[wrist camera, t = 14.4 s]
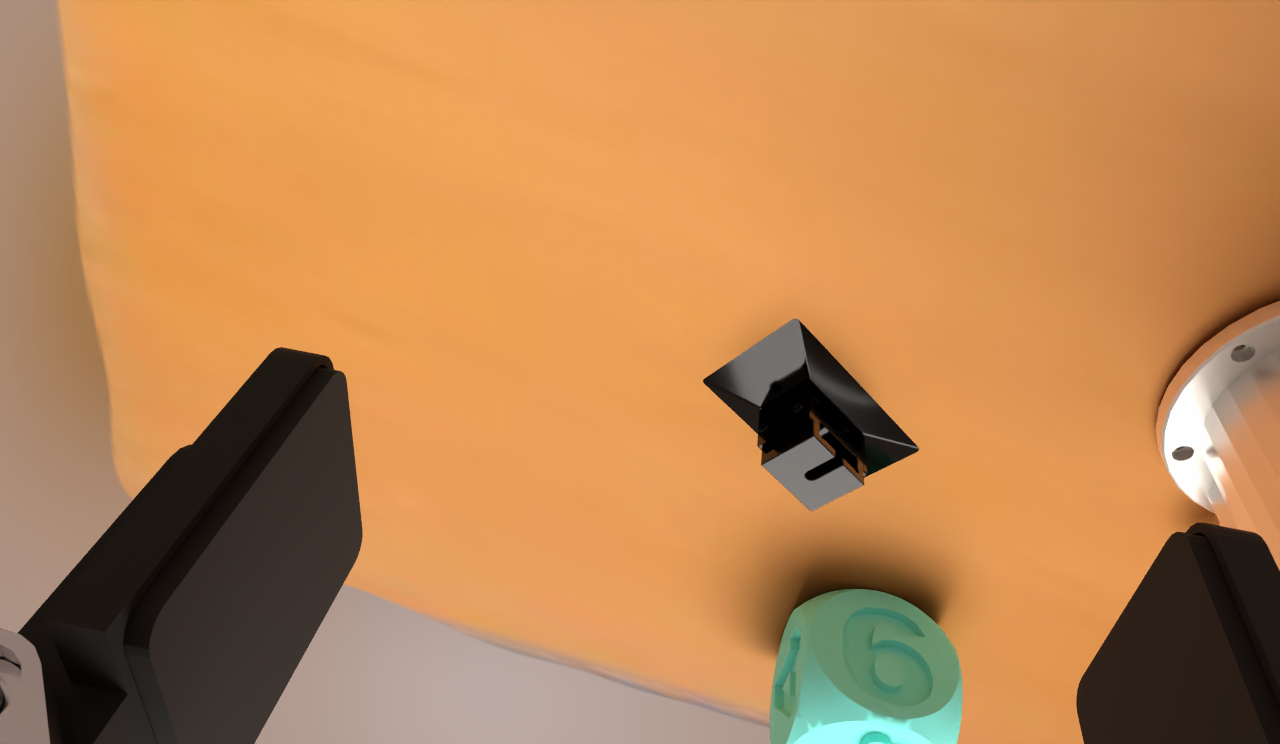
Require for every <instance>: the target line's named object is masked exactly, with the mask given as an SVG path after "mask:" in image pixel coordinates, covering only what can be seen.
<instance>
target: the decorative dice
mask: <svg viewBox="0 0 1280 744" xmlns="http://www.w3.org/2000/svg"><path fill="white" fill-rule="evenodd" d="M961 714H962V675H961V668H960V663H959V659H958V655H957V652H956V650H955V648H954V646H953V644H952V643H951V641H950V640H949V639H948V637H947V636H946V634H945V633H944V632H943V630H942V629H941V628H940V627H939V626H938V625H937V624H936V623H935V622H934V621H933V620H932V619H931V618H930V617H929V616H928V615H926V614H925V613H924V612H922V611H921V610H920V609H918V608H917V607H915V606H914V605H912V604H910V603H909V602H907V601H905V600H903V599H901V598H899V597H896V596H894V595H891V594H888V593H885V592H881V591H876V590H869V589H843V590H836V591H831V592H827V593H824V594H821V595H819V596H816V597H814V598H812V599H810V600H808V601H806V602H805V603H803V604H802V605H800V606H799V607H797V608H796V609H795V610H794V611H793V612H792V614H791V616H790V618H789V620H788V622H787V625H786V627H785V630H784V633H783V637H782V640H781V644H780V648H779V652H778V657H777V662H776V667H775V673H774V679H773V687H772V695H771V707H770V738H771V744H957V740H958V735H959V730H960V723H961Z"/></svg>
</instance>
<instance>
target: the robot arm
mask: <svg viewBox="0 0 1280 744" xmlns="http://www.w3.org/2000/svg"><path fill="white" fill-rule="evenodd" d="M1156 437H1157V444H1158V450H1159V452H1160V454H1161V457H1162V460H1163V462H1164V465H1165V467H1166V470H1167V471H1168V473H1169V475H1170V476H1171V478H1172V479H1173V481H1174V483H1175V484H1176V486H1177V487H1178V488H1179V489H1180V490H1181V491H1182V492H1183V493H1184V494H1185V495H1187V496H1188V497H1189V498H1190V499H1191V500H1192V501H1193V502H1195V503H1197V504H1198V505H1200V506H1202V507H1204V508H1205V509H1207V510H1209V511H1211V512H1212V513H1215V514H1216V516H1217V518H1218V520H1219V522H1220V524H1219V526H1218V525H1213V524H1208V523H1196V524H1194V525H1193V526H1191V527H1190V528H1189V529H1188V530H1187V532H1186V533H1183V532H1176V533H1174V534H1172V535H1171V536H1170V538H1169V539H1168V540H1167V542H1166V543H1165V545H1164V546H1163V548H1162V550H1161V551H1160V553H1159V554H1158V556H1157V558H1156V559H1155V561H1154V563H1153V564H1152V566H1151V567H1150V569H1149V571H1148V572H1147V574H1146V575H1145V577H1144V579H1143V580H1142V582H1141V583H1140V585H1139V587H1138V588H1137V590H1136V591H1135V593H1134V595H1133V596H1132V598H1131V599H1130V601H1129V603H1128V604H1127V606H1126V608H1125V609H1124V611H1123V612H1122V614H1121V616H1120V617H1119V619H1118V620H1117V622H1116V624H1115V625H1114V627H1113V628H1112V630H1111V632H1110V633H1109V635H1108V636H1107V638H1106V640H1105V641H1104V643H1103V644H1102V646H1101V648H1100V649H1099V651H1098V653H1097V654H1096V656H1095V657H1094V659H1093V661H1092V662H1091V664H1090V665H1089V667H1088V669H1087V670H1086V672H1085V673H1084V675H1083V677H1082V679H1081V681H1080V683H1079V687H1078V691H1077V713H1078V718H1079V722H1080V727H1081V731H1082V736H1083V740H1084V744H1280V301H1278V302H1275V303H1273V304H1270V305H1268V306H1265V307H1262V308H1260V309H1258V310H1256V311H1254V312H1252V313H1251V314H1249V315H1247V316H1245V317H1243V318H1241V319H1240V320H1238V321H1236V322H1234V323H1232V324H1230V325H1229V326H1227V327H1226V328H1225V329H1223V330H1222V331H1221V332H1219V333H1218V334H1217V335H1215V336H1214V337H1213V338H1211V339H1210V340H1209V341H1207V342H1206V343H1204V344H1203V345H1202V346H1201V347H1200V348H1199V349H1198V350H1197V351H1196V352H1195V353H1194V354H1193V355H1192V356H1191V357H1190V358H1189V359H1188V360H1187V361H1186V362H1185V363H1184V364H1183V365H1182V367H1181V368H1180V370H1179V371H1178V373H1177V374H1176V376H1175V377H1174V378H1173V380H1172V381H1171V383H1170V384H1169V386H1168V387H1167V390H1166V392H1165V395H1164V397H1163V399H1162V402H1161V404H1160V407H1159V410H1158V417H1157V423H1156ZM361 543H362V522H361V513H360V503H359V494H358V484H357V475H356V466H355V456H354V447H353V437H352V428H351V419H350V409H349V400H348V391H347V382H346V377H345V375H344V373H343V372H341V371H336V370H334V368H333V364H332V362H331V360H330V358H329V357H327V356H324V355H319V354H314V353H308V352H303V351H298V350H293V349H287V348H282V347H280V348H277V349H275V350H274V351H272V352H271V353H270V354H269V355H268V356H267V358H266V359H265V360H264V361H263V362H262V363H261V365H260V366H259V367H258V368H257V369H256V370H255V372H254V373H253V374H252V375H251V376H250V378H249V379H248V380H247V381H246V382H245V383H244V385H243V386H242V387H241V388H240V389H239V390H238V392H237V393H236V394H235V395H234V396H233V397H232V399H231V400H230V401H229V402H228V403H227V404H226V406H225V407H224V408H223V409H222V410H221V412H220V413H219V414H218V415H217V416H216V417H215V419H214V420H213V421H212V422H211V423H210V424H209V426H208V427H207V428H206V429H205V430H204V431H203V433H202V434H201V435H200V436H199V437H198V438H197V440H196V441H195V442H194V443H193V444H192V445H188V446H185V447H183V448H180V449H179V450H178V451H177V452H176V453H175V454H173V455H172V456H171V457H170V458H169V459H168V460H167V462H166V463H165V464H164V465H163V466H162V467H161V468H160V470H159V471H158V472H157V473H156V474H155V475H154V477H153V478H152V479H151V480H150V481H149V482H148V483H147V485H146V486H145V487H144V488H143V489H142V490H141V492H140V493H139V494H138V495H137V496H136V497H135V498H134V500H133V501H132V502H131V503H130V504H129V505H128V507H127V508H126V509H125V510H124V511H123V512H122V513H121V515H120V516H119V517H118V518H117V519H116V520H115V522H114V523H113V524H112V525H111V526H110V527H109V529H108V530H107V531H106V532H105V533H104V534H103V535H102V536H101V538H100V539H99V540H98V541H97V542H96V544H95V545H94V546H93V547H92V548H91V549H90V550H89V551H88V553H87V554H86V555H85V556H84V557H83V558H82V560H81V561H80V562H79V563H78V564H77V565H76V566H75V568H74V569H73V570H72V571H71V572H70V573H69V575H68V576H67V577H66V578H65V579H64V580H63V581H62V583H61V584H60V585H59V586H58V587H57V588H56V590H55V591H54V592H53V593H52V594H51V595H50V596H49V598H48V599H47V600H46V601H45V602H44V603H43V604H42V606H41V607H40V608H39V609H38V610H37V611H36V613H35V614H34V615H33V616H32V617H31V618H30V619H29V621H28V622H27V623H26V624H25V625H24V627H23V628H22V629H21V630H20V631H19V632H18V633H15V632H11V631H8V630H5V629H2V628H0V744H254V743H255V741H256V739H257V738H258V736H259V734H260V732H261V730H262V728H263V727H264V725H265V723H266V721H267V720H268V718H269V716H270V714H271V713H272V711H273V709H274V707H275V705H276V704H277V702H278V700H279V698H280V696H281V695H282V693H283V691H284V689H285V687H286V686H287V684H288V682H289V680H290V678H291V677H292V675H293V673H294V671H295V669H296V668H297V666H298V664H299V662H300V660H301V659H302V657H303V655H304V653H305V651H306V650H307V648H308V646H309V644H310V642H311V641H312V639H313V637H314V635H315V633H316V631H317V630H318V628H319V626H320V624H321V623H322V621H323V619H324V617H325V615H326V614H327V612H328V610H329V608H330V606H331V605H332V603H333V601H334V599H335V597H336V596H337V594H338V592H339V590H340V588H341V587H342V585H343V583H344V581H345V579H346V578H347V576H348V574H349V572H350V570H351V569H352V567H353V565H354V563H355V561H356V559H357V557H358V554H359V551H360V547H361Z"/></svg>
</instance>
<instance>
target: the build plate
mask: <svg viewBox="0 0 1280 744" xmlns="http://www.w3.org/2000/svg"><path fill="white" fill-rule="evenodd" d="M703 382H704V384H705V385H706V386H708V387H709V388H710V389H711V390H712V391H713V392H714V393H715V394H716V395H717V396H718V397H719V398H720V399H721V400H722V401H723V402H724V403H726V404H727V405H728V406H729V407H730V408H731V409H732V410H733V411H734V412H735V413H736V414H737V415H738V416H739V417H740V418H741V419H743V420H744V421H745V422H746V423H747V424H748V425H749V426H750V427H751V428H752V429H753V430H754V431H755V432H756V433H757V434H758V445H757V446H758V447H759V448H760V449H761V450H762V459H761V465H762V466H763V467H764V468H765V469H766V470H767V471H768V472H769V473H770V474H771V475H772V476H774V477H775V478H776V479H777V480H778V481H779V482H780V483H781V484H782V485H783V486H784V487H785V488H786V489H787V490H788V491H790V492H791V493H792V494H793V495H794V496H795V497H796V498H797V499H798V500H799V501H800V502H801V503H802V504H803V505H805V506H806V507H807V508H808V509H809V510H810V511H814V510H816V509H818V508H820V507H821V506H823V505H825V504H827V503H829V502H831V501H833V500H835V499H837V498H839V497H841V496H843V495H845V494H847V493H849V492H851V491H853V490H855V489H857V488H859V487H861V486H863V485H864V477H866V476H868V475H870V474H872V473H875V472H877V471H879V470H881V469H883V468H885V467H887V466H889V465H891V464H893V463H895V462H897V461H899V460H901V459H903V458H905V457H907V456H909V455H911V454H914V453H916V452H917V451H918V450H919V448H918V446H917V445H916V444H915V443H914V442H913V441H912V440H911V439H910V438H909V437H908V436H907V435H906V434H905V433H904V432H903V430H902V429H901V428H900V427H899V426H898V425H897V424H896V423H895V422H894V421H893V420H892V419H891V418H890V417H889V416H888V414H887V413H886V412H885V411H884V410H883V409H882V408H881V407H880V406H879V405H878V404H877V403H876V402H875V401H874V400H873V398H872V397H871V396H870V395H869V394H868V393H867V392H866V391H865V390H864V389H863V388H862V387H861V386H860V385H859V384H858V382H857V381H856V380H855V379H854V378H853V377H852V376H851V375H850V374H849V373H848V372H847V371H846V370H845V369H844V368H843V366H842V365H841V364H840V363H839V362H838V361H837V360H836V359H835V358H834V357H833V356H832V355H831V354H830V353H829V352H828V350H827V349H826V348H825V347H824V346H823V345H822V344H821V343H820V342H819V341H818V340H817V339H816V338H815V337H814V336H813V334H812V333H811V332H810V331H809V330H808V329H807V328H806V327H805V326H804V325H803V324H802V323H801V322H800V321H799V320H798V319H793V320H791V321H790V322H788V323H787V324H785V325H784V326H782V327H781V328H779V329H778V330H776V331H775V332H773V333H772V334H770V335H769V336H767V337H766V338H764V339H763V340H761V341H760V342H758V343H757V344H755V345H754V346H752V347H751V348H749V349H748V350H746V351H745V352H744V353H742V354H741V355H739V356H738V357H736V358H735V359H733V360H732V361H730V362H729V363H727V364H726V365H724V366H723V367H721V368H720V369H718V370H717V371H715V372H714V373H712V374H711V375H709V376H708V377H706V378H705V379H704V380H703Z"/></svg>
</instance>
